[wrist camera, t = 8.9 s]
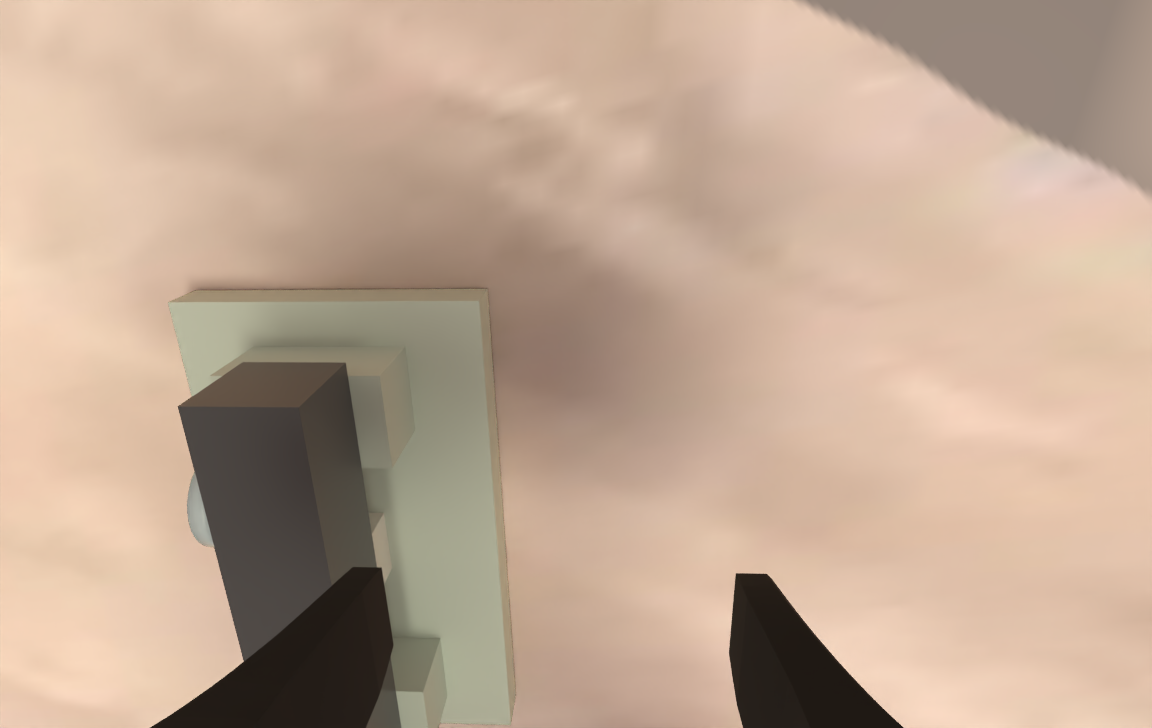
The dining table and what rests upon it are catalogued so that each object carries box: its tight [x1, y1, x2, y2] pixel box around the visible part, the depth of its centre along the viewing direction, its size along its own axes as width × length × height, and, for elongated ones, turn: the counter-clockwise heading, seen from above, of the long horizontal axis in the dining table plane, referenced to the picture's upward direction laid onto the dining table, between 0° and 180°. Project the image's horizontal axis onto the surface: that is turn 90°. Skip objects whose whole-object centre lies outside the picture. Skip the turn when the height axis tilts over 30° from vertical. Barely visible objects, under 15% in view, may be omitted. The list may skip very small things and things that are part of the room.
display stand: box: [168, 289, 516, 728], centre depth 23 cm, size 18×10×4 cm, turn 1°
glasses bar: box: [178, 362, 401, 728], centre depth 20 cm, size 16×4×3 cm, turn 1°
